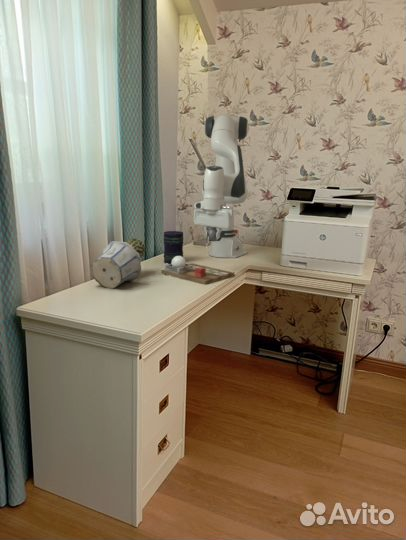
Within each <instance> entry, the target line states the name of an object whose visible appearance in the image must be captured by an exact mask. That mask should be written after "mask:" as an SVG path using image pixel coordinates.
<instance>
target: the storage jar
mask: <svg viewBox="0 0 406 540" xmlns="http://www.w3.org/2000/svg"><path fill="white" fill-rule="evenodd" d="M163 247H164V251H163V263H164V264H166V263H168V264H171V262H172V259H173V258H174V257H176V256H182V257H183V258H184V250H183V249H184V248H183V247H184V232H183V231H179V230H168V231H164V232H163ZM168 264H167V265H168Z"/></svg>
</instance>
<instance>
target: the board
mask: <svg viewBox="0 0 406 540" xmlns="http://www.w3.org/2000/svg"><path fill="white" fill-rule="evenodd" d="M160 273H162V275H165V274H166V275H165V276H169V275H170V277H173V278H177V279H182V280H185V281H189V282H193V283H196V284H201V285H208V284H209V285H210V284H212V283H216V282H218V281H222V280H225V279H230V278H232V277H235V272H233V271H230V270H229V271H228V270H225V269H220V268H215V267H210V266H205V265H200V264H198V263H186V265H185V267H180V268H177V267H173V266H172V264H164V269H161V271H160Z"/></svg>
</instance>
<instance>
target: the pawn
mask: <svg viewBox="0 0 406 540" xmlns="http://www.w3.org/2000/svg"><path fill="white" fill-rule="evenodd" d="M216 228H217V227H209V237H208V242H211V241H217V238H215V234H216V233H217V229H216Z"/></svg>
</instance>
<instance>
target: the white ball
mask: <svg viewBox="0 0 406 540" xmlns="http://www.w3.org/2000/svg"><path fill="white" fill-rule="evenodd" d="M171 264H172V266H173V267H177V268H180V267H185V265H186V264H187V261H186V259H185V257H184V256H183V257H182V256H176V257H174V258H173V259H172V262H171Z"/></svg>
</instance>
